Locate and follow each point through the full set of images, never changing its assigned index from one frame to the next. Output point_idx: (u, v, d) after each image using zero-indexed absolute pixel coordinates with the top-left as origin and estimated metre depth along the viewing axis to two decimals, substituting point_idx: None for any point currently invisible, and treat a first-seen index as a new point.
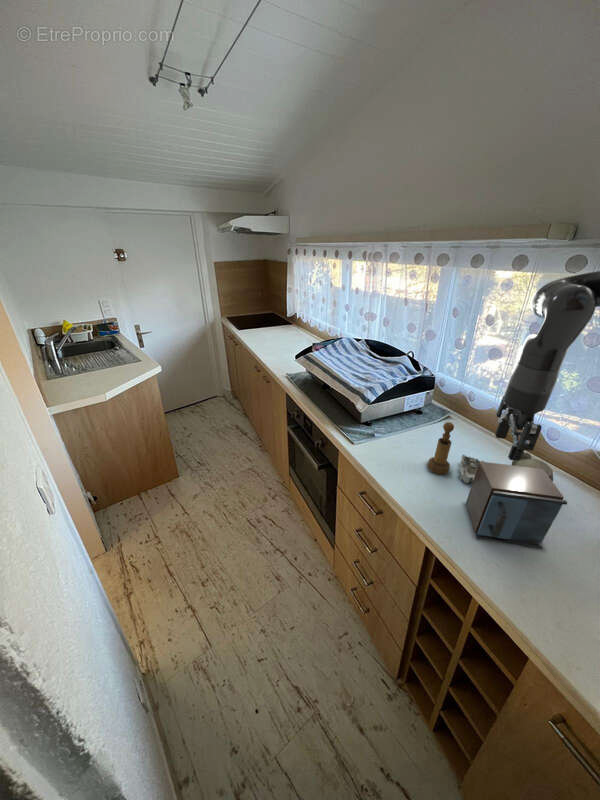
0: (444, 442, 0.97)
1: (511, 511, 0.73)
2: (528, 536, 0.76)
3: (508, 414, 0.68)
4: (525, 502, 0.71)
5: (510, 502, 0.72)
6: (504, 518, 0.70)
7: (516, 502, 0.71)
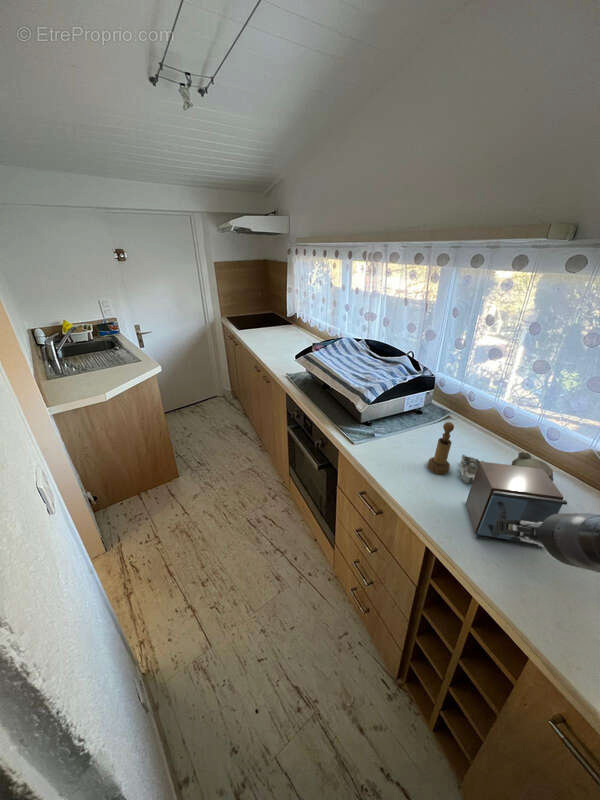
0: (444, 442, 0.97)
1: (511, 511, 0.73)
2: (528, 536, 0.76)
3: None
4: (525, 502, 0.71)
5: (510, 502, 0.72)
6: (504, 518, 0.70)
7: (516, 502, 0.71)
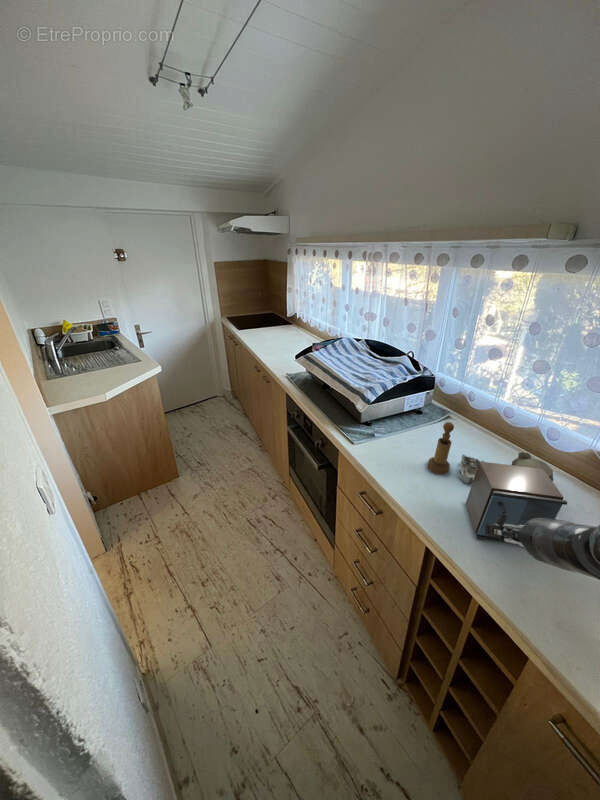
0: (444, 442, 0.97)
1: (511, 511, 0.73)
2: None
3: None
4: (525, 502, 0.71)
5: (510, 502, 0.72)
6: (504, 518, 0.70)
7: (516, 502, 0.71)
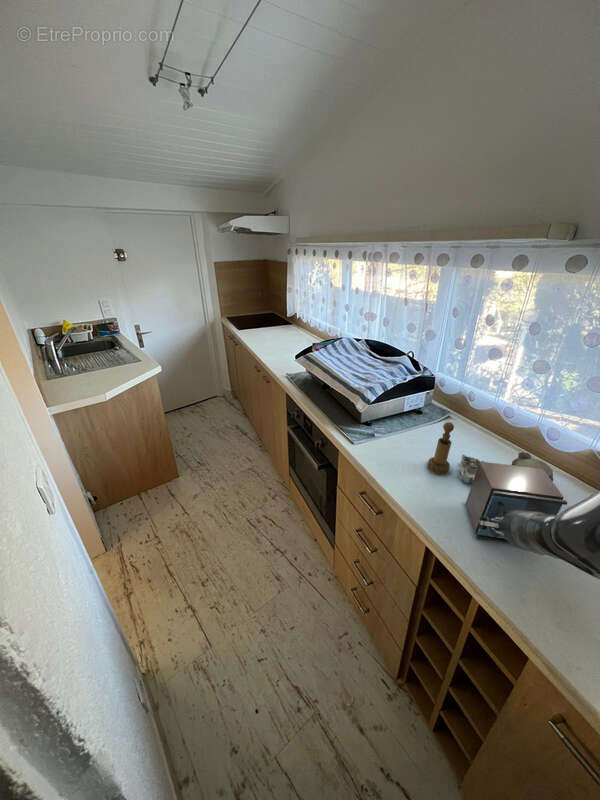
0: (444, 442, 0.97)
1: None
2: None
3: None
4: (525, 502, 0.71)
5: (510, 502, 0.72)
6: None
7: (516, 502, 0.71)
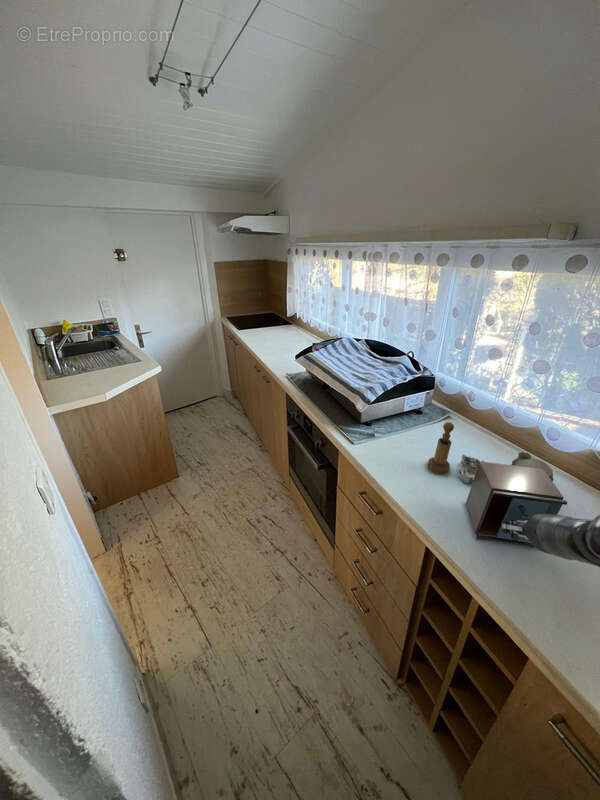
0: (444, 442, 0.97)
1: (532, 514, 0.72)
2: None
3: None
4: (547, 505, 0.70)
5: (531, 505, 0.71)
6: None
7: (538, 505, 0.70)
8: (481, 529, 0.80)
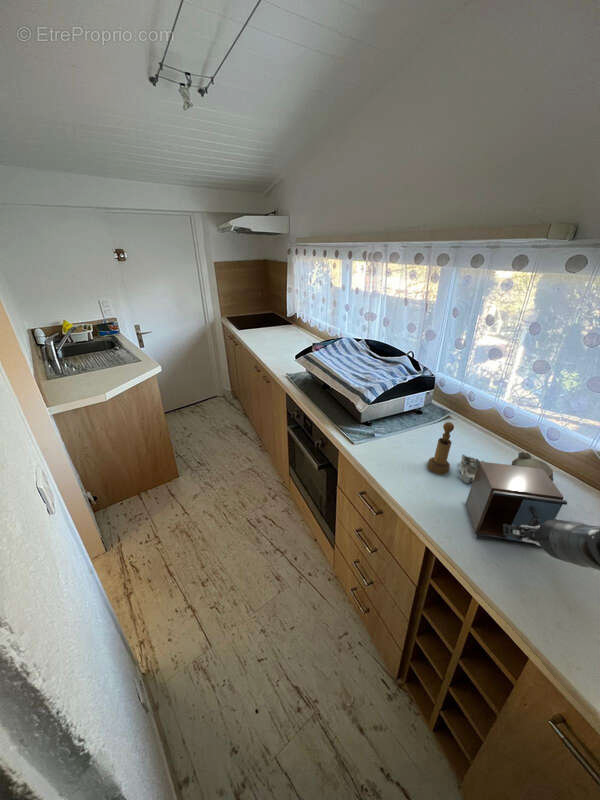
0: (444, 442, 0.97)
1: (542, 515, 0.71)
2: None
3: None
4: (558, 507, 0.69)
5: (542, 507, 0.70)
6: (536, 523, 0.68)
7: (548, 507, 0.70)
8: (481, 529, 0.80)
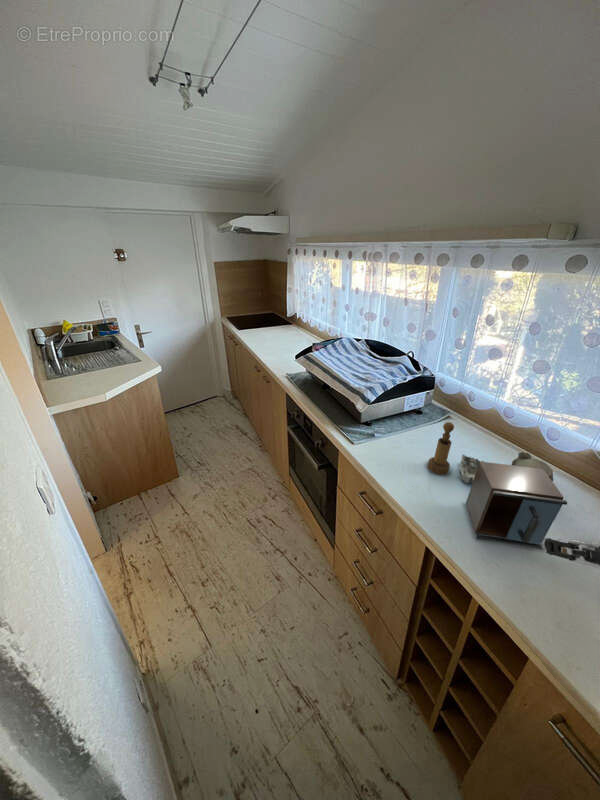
0: (444, 442, 0.97)
1: (542, 515, 0.71)
2: None
3: None
4: (558, 507, 0.69)
5: (542, 507, 0.70)
6: (536, 523, 0.68)
7: (548, 507, 0.70)
8: (481, 529, 0.80)
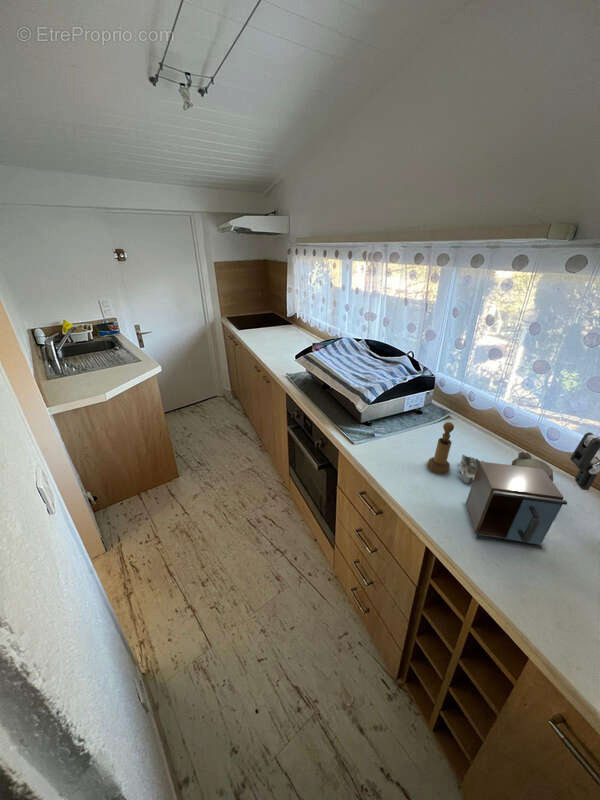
0: (444, 442, 0.97)
1: (542, 515, 0.71)
2: None
3: None
4: (558, 507, 0.69)
5: (542, 507, 0.70)
6: (536, 523, 0.68)
7: (548, 507, 0.70)
8: (481, 529, 0.80)
